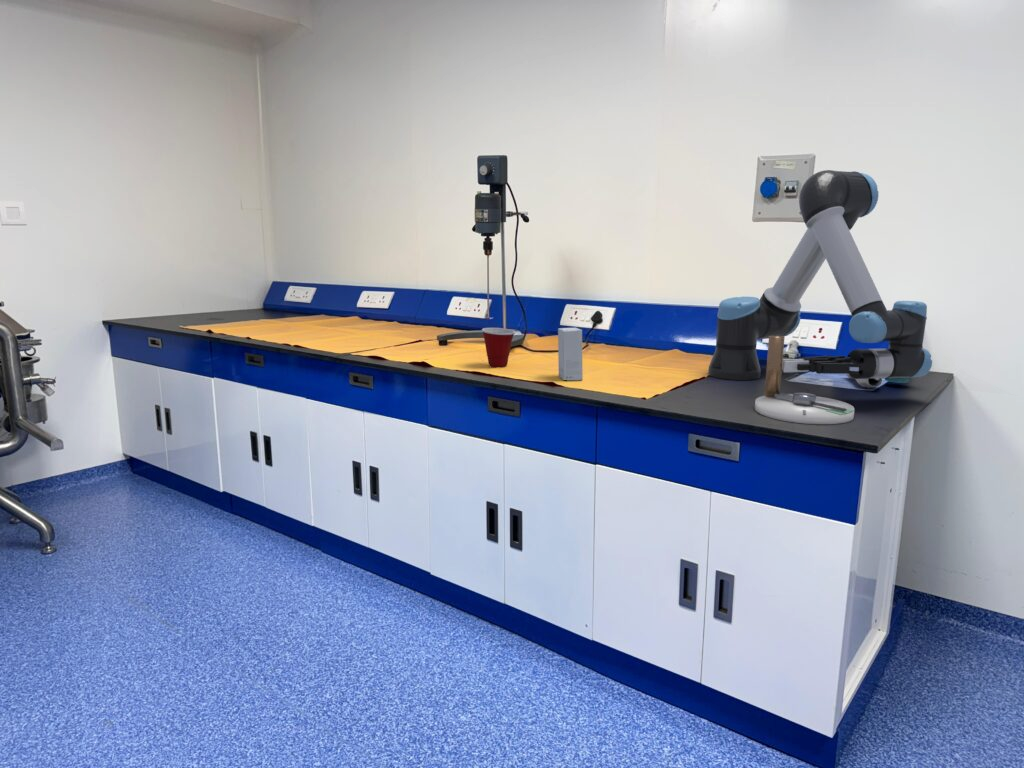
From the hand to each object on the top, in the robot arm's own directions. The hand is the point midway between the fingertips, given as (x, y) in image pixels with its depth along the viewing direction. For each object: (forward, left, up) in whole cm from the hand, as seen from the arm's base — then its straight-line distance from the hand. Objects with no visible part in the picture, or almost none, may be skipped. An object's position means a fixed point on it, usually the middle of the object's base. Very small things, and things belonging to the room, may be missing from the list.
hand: (781, 365), depth 174 cm
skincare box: (-58, +12, -10) cm, 60 cm away
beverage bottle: (+31, +37, -10) cm, 49 cm away
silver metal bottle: (+20, +45, -7) cm, 50 cm away
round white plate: (+6, -6, -10) cm, 13 cm away
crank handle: (+6, -6, -8) cm, 11 cm away
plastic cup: (-85, +22, -10) cm, 89 cm away
